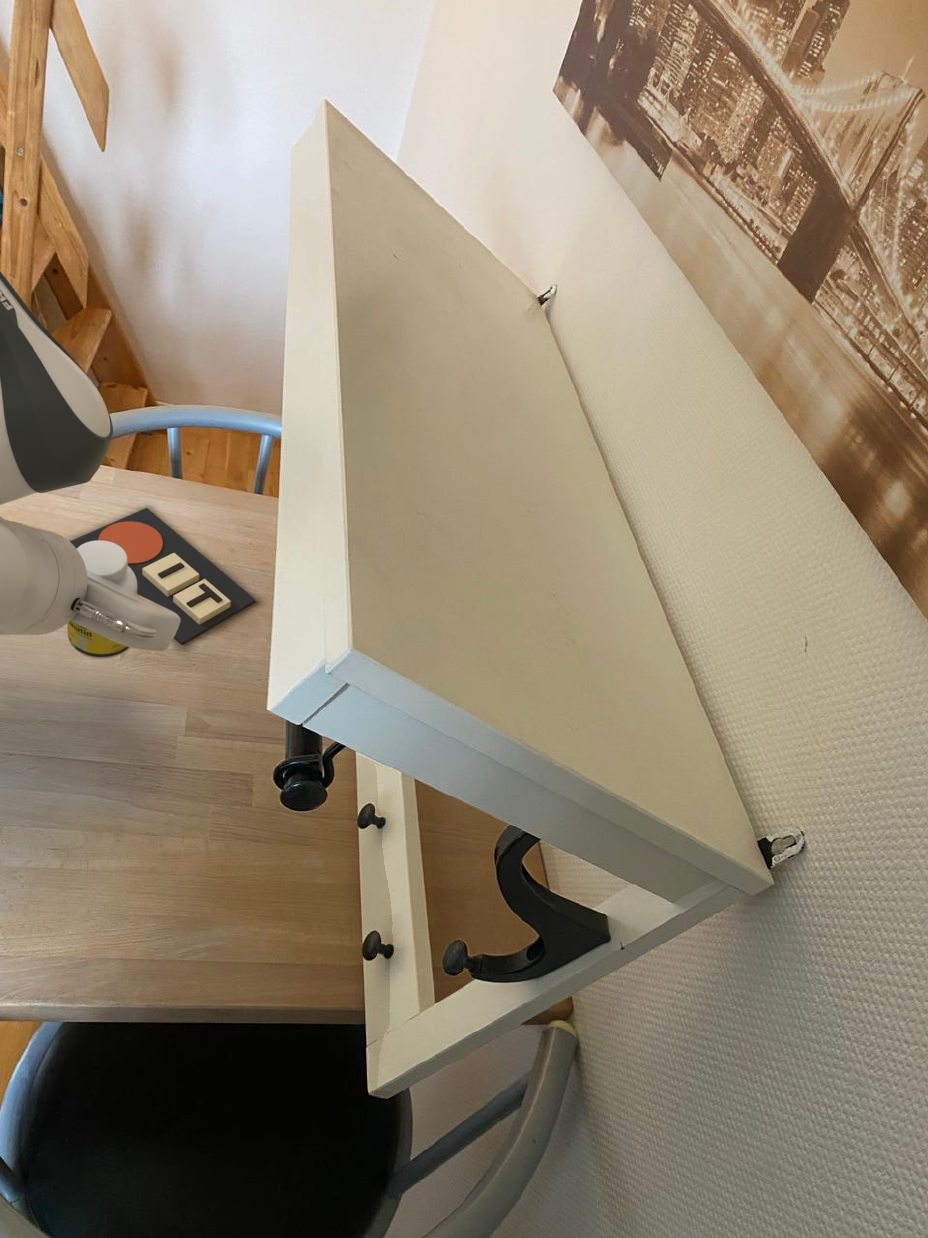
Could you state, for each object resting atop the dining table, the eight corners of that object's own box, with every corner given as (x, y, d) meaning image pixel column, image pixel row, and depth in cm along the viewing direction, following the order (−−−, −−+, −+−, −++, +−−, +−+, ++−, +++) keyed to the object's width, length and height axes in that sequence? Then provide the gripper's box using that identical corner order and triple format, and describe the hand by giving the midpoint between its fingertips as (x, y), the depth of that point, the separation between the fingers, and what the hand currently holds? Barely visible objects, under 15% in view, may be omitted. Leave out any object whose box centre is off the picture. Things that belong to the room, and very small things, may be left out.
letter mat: (69, 547, 107) (67, 533, 105) (146, 512, 115) (146, 499, 113) (181, 648, 101) (182, 635, 99) (255, 604, 109) (257, 592, 107)
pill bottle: (62, 619, 84) (55, 536, 76) (129, 609, 87) (128, 529, 79) (74, 667, 81) (68, 586, 73) (143, 655, 84) (144, 577, 76)
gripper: (155, 600, 66) (213, 607, 80) (-68, 492, 67) (28, 518, 80) (121, 671, 66) (185, 666, 79) (-101, 562, 66) (0, 576, 80)
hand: (105, 591), depth 80 cm, fingers closed on pill bottle, 6 cm apart
